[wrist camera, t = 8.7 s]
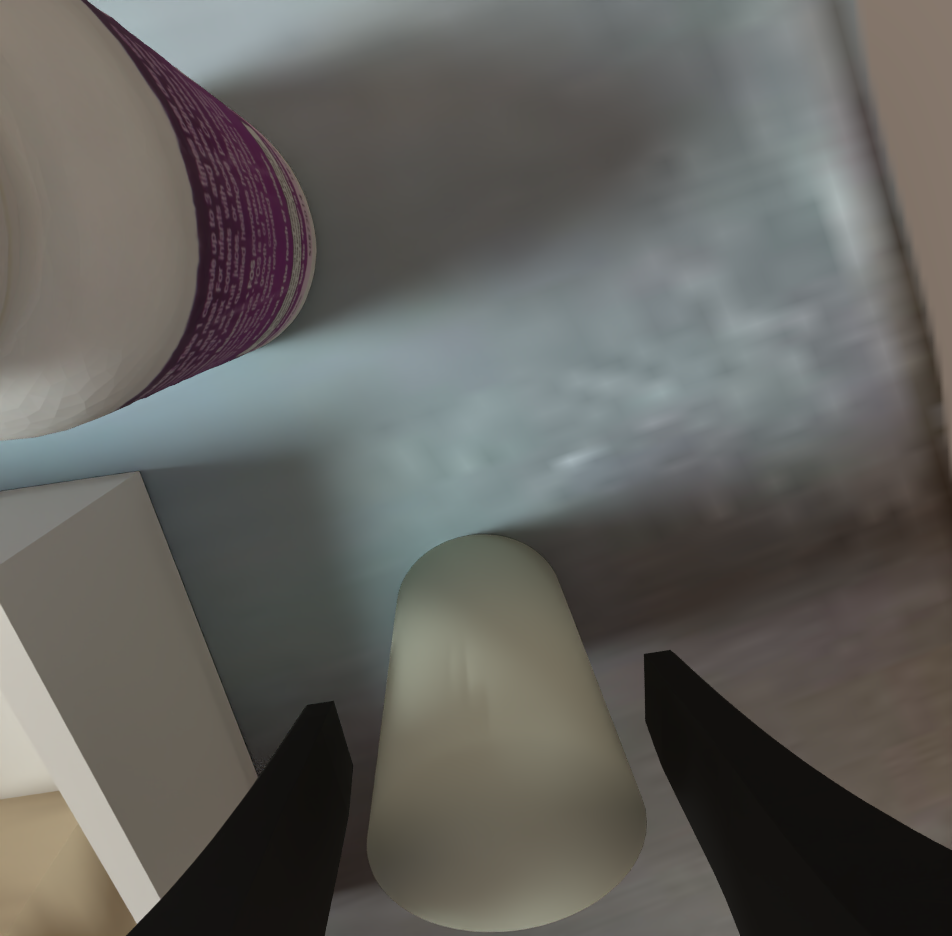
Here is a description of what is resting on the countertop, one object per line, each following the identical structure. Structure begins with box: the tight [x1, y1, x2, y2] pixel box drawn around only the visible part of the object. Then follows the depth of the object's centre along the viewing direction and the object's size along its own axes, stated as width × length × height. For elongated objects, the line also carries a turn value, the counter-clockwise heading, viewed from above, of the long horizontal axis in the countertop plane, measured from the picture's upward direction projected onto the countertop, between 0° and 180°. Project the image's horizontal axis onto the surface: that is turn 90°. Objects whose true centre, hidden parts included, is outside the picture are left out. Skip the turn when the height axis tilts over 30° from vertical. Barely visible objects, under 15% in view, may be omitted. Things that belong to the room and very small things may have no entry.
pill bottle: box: [0, 0, 317, 441], centre depth 7 cm, size 5×5×10 cm
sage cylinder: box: [367, 534, 647, 932], centre depth 13 cm, size 5×5×7 cm
